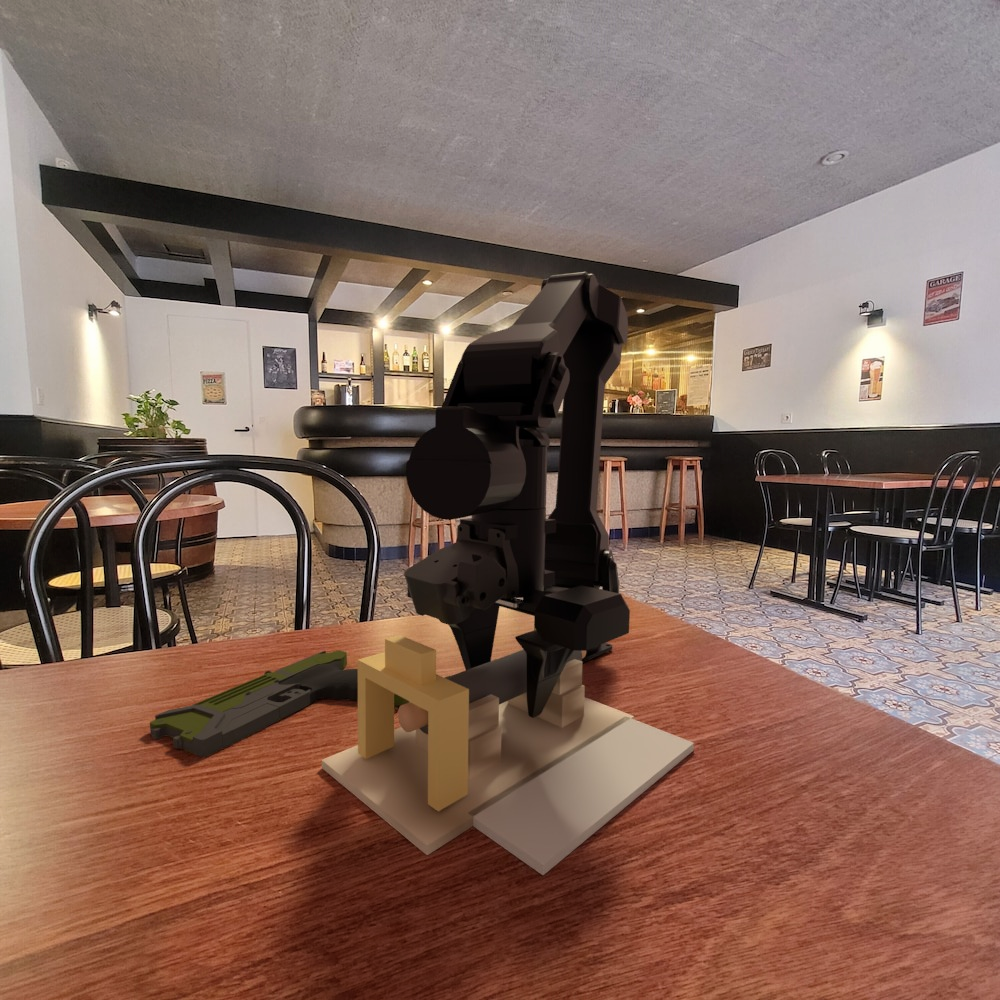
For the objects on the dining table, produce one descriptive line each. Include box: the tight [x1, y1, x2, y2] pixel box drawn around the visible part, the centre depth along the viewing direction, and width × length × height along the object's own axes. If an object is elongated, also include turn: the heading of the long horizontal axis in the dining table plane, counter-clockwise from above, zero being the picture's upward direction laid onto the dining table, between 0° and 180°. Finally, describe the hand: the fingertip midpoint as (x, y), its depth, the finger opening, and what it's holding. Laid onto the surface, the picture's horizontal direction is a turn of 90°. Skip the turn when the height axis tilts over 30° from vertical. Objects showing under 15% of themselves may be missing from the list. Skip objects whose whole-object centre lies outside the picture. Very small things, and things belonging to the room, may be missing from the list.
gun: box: [149, 649, 410, 758], centre depth 48 cm, size 2×19×15 cm
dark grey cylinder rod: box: [397, 649, 586, 734], centre depth 44 cm, size 19×3×3 cm, turn 136°
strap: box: [357, 634, 469, 811], centre depth 37 cm, size 2×9×9 cm, turn 46°
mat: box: [470, 718, 695, 876], centre depth 38 cm, size 18×6×1 cm, turn 136°
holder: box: [321, 648, 635, 856], centre depth 43 cm, size 22×12×5 cm, turn 136°
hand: (505, 702), depth 44 cm, fingers open, 6 cm apart
